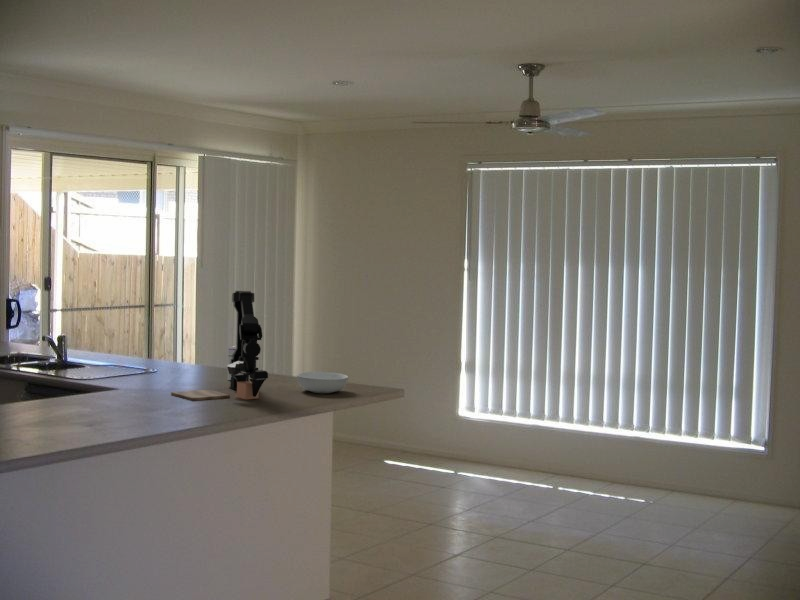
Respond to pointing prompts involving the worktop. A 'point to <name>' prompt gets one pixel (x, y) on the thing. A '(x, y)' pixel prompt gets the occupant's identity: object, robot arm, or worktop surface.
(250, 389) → the terracotta cube
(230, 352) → the syrup box
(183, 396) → the walnut board
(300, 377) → the serving bowl
